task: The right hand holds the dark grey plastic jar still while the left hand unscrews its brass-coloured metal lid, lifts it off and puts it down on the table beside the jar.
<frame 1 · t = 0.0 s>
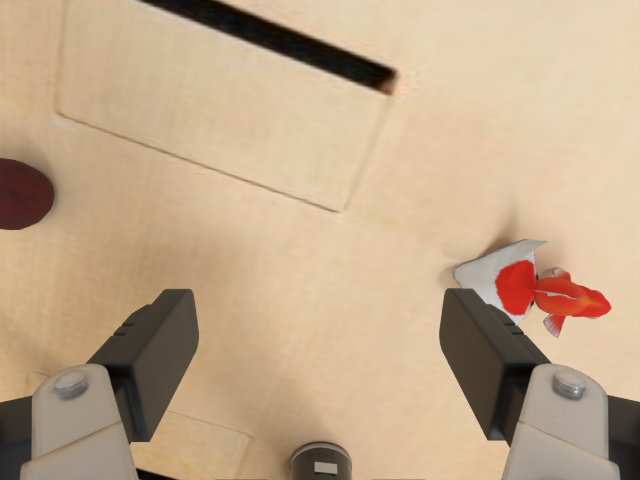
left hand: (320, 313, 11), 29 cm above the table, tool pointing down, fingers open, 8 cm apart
potato: (35, 187, 39), on the table
fish: (508, 276, 43), on the table
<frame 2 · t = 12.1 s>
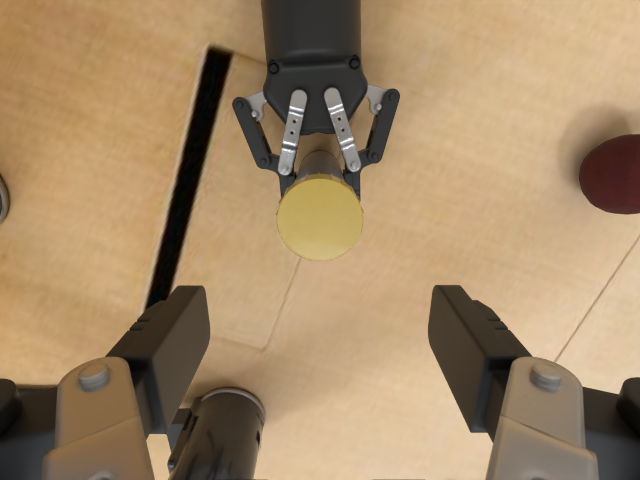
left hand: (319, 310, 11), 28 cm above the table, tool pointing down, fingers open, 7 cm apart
right hand: (321, 211, 33), fingers closed on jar, 4 cm apart
lid: (320, 219, 21), point 18 cm above the table, screwed on, not yet turned
potato: (598, 169, 37), on the table
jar: (320, 171, 37), on the table, touching right hand
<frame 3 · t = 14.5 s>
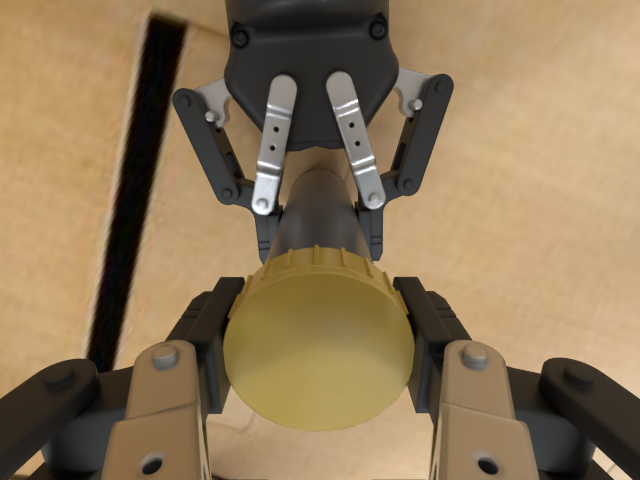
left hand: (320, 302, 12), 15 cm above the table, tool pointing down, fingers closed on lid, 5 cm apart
right hand: (322, 266, 21), fingers closed on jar, 4 cm apart
lid: (318, 351, 10), point 18 cm above the table, screwed on, not yet turned, touching left hand
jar: (319, 198, 26), on the table, touching right hand
when the left hand's fingers open (15 cm above the table, at t = 16.1 s): lid stays where it is, point 18 cm above the table.
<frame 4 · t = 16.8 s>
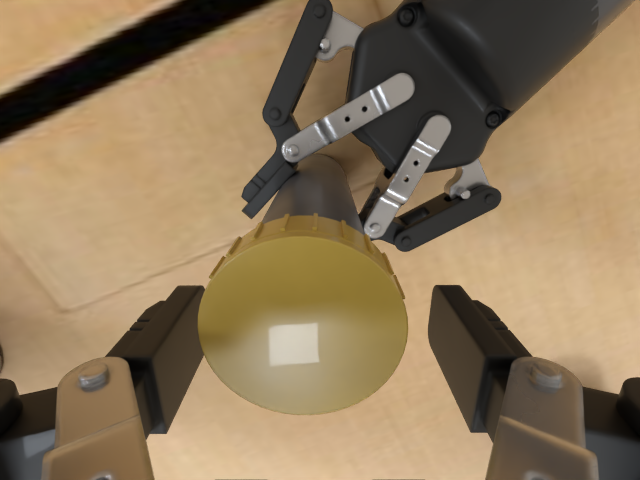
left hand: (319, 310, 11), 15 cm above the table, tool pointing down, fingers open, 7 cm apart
right hand: (283, 239, 20), fingers closed on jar, 4 cm apart
lid: (303, 326, 9), point 18 cm above the table, turned 88° so far, risen 0.3 cm, still on its thread
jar: (316, 184, 26), on the table, touching right hand
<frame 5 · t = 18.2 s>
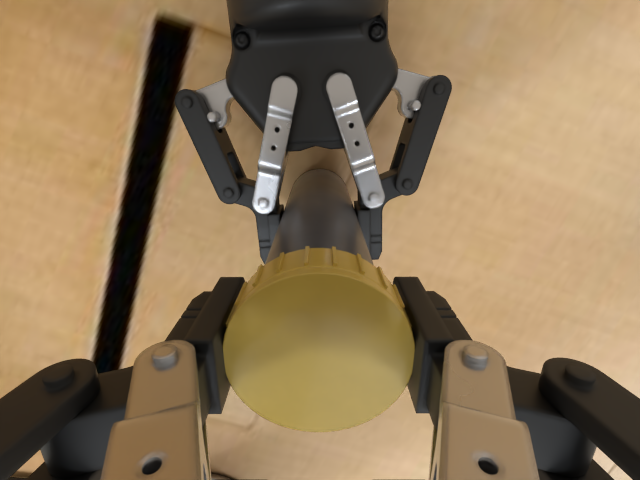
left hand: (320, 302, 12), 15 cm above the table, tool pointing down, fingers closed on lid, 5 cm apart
right hand: (322, 264, 21), fingers closed on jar, 4 cm apart
lid: (318, 351, 10), point 18 cm above the table, turned 88° so far, risen 0.3 cm, still on its thread, touching left hand
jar: (319, 197, 26), on the table, touching right hand
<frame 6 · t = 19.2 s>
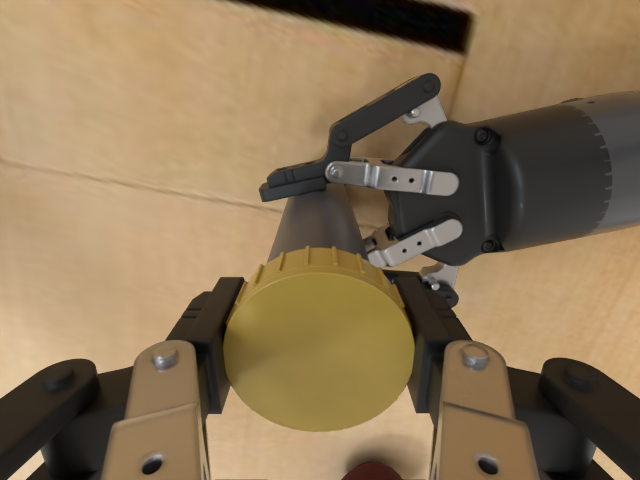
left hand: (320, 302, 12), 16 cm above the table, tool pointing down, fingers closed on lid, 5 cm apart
right hand: (274, 232, 21), fingers closed on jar, 4 cm apart
lid: (318, 351, 10), point 18 cm above the table, off its thread, touching left hand
potato: (367, 470, 37), on the table
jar: (318, 197, 27), on the table, touching right hand
when the left hand's fingers open (0 cm above the table, at t = 25.5 s): lid drops 2 cm, point 1 cm above the table.
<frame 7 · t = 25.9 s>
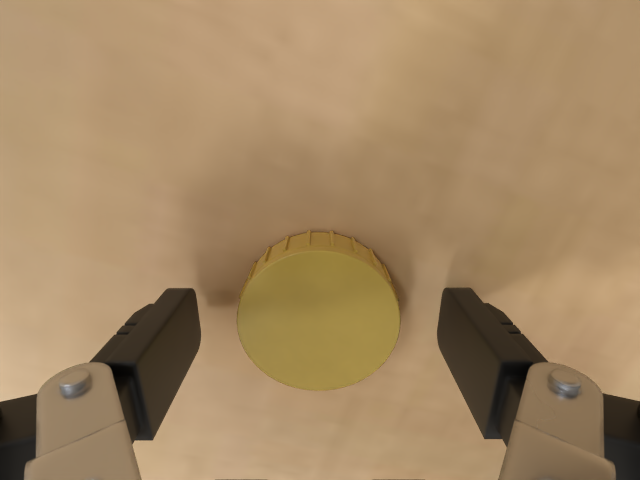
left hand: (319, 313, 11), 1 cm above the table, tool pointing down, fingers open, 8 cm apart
lid: (318, 320, 11), point 1 cm above the table, off its thread
when the right hand's fingers open (6 cm above the table, at t = 26.6 s): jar stays where it is, on the table.
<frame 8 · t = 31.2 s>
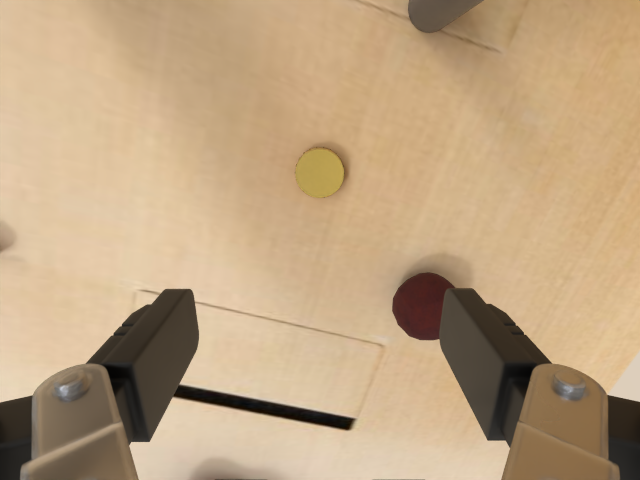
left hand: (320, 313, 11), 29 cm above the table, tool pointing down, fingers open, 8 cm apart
lid: (319, 173, 37), point 1 cm above the table, off its thread
potato: (418, 290, 43), on the table
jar: (431, 6, 33), on the table
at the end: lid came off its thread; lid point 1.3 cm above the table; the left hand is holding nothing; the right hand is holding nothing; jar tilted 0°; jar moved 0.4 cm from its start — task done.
